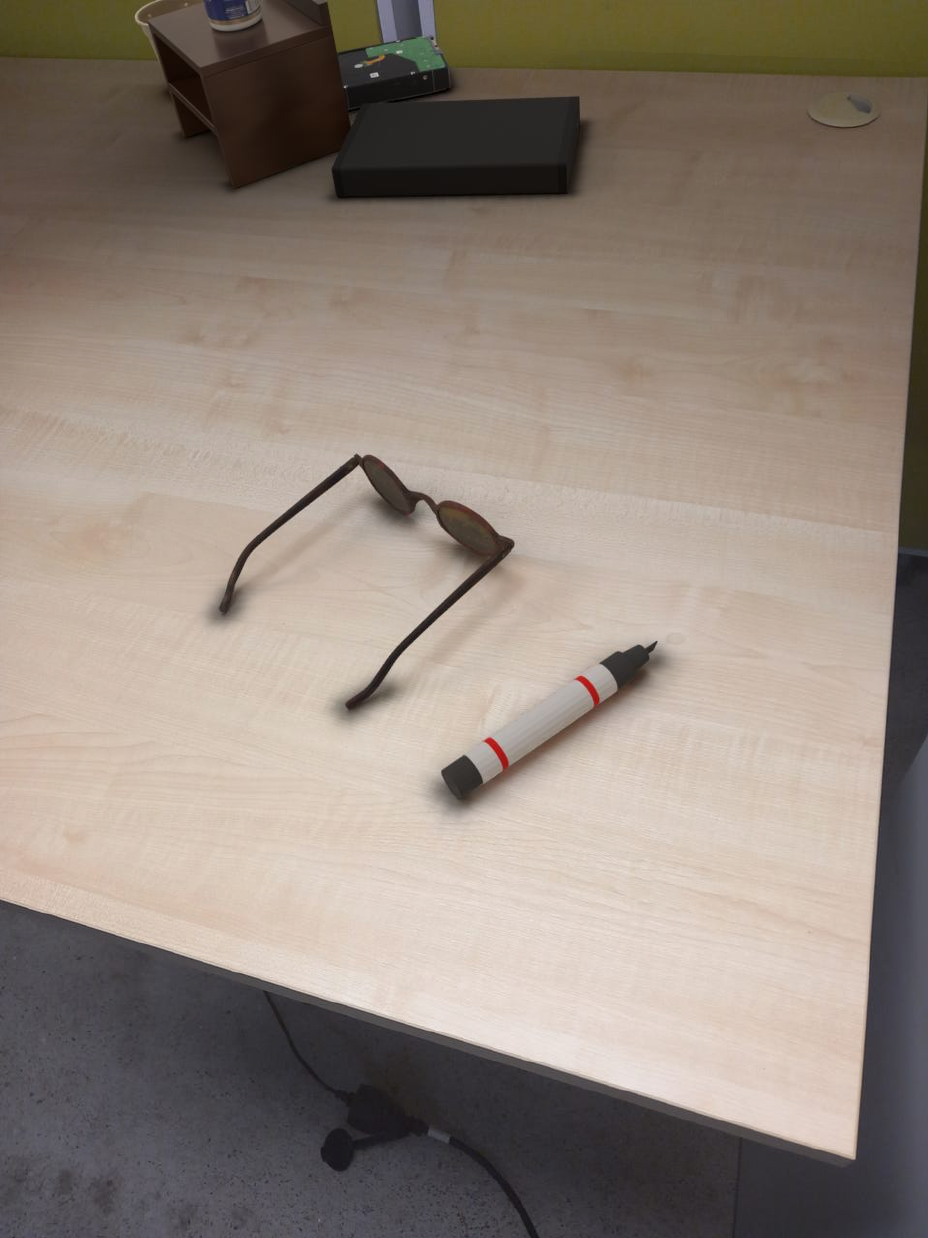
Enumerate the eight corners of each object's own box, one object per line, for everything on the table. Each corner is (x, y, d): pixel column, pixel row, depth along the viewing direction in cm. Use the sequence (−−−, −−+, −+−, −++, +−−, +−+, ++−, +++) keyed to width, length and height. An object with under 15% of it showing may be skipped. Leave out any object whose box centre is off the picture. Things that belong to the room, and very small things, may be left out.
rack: (234, 188, 106) (193, 44, 96) (182, 134, 116) (139, -2, 105) (354, 144, 110) (327, 1, 99) (294, 95, 119) (263, -40, 109)
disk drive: (325, 118, 115) (453, 89, 116) (320, 92, 113) (450, 63, 114) (313, 81, 122) (434, 54, 122) (308, 56, 119) (431, 29, 120)
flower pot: (211, 63, 128) (190, -14, 121) (250, 82, 123) (230, 3, 116) (145, 90, 125) (120, 12, 118) (183, 111, 120) (158, 32, 113)
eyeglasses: (517, 572, 68) (512, 518, 64) (359, 719, 62) (344, 670, 58) (364, 484, 75) (351, 431, 71) (208, 608, 69) (185, 557, 65)
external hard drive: (367, 130, 111) (362, 102, 109) (580, 124, 107) (580, 94, 105) (337, 197, 103) (331, 168, 100) (568, 193, 99) (567, 163, 96)
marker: (463, 805, 57) (459, 787, 56) (443, 782, 58) (438, 763, 57) (667, 663, 62) (668, 643, 60) (644, 644, 63) (645, 623, 61)
